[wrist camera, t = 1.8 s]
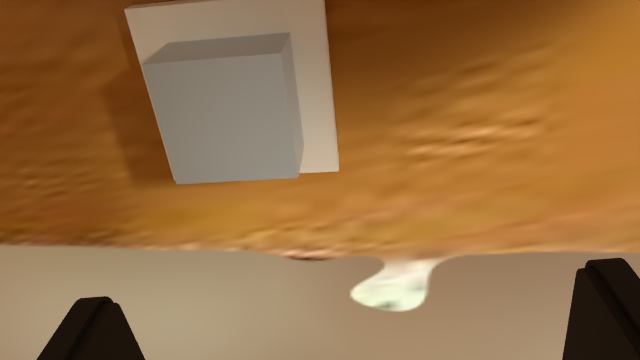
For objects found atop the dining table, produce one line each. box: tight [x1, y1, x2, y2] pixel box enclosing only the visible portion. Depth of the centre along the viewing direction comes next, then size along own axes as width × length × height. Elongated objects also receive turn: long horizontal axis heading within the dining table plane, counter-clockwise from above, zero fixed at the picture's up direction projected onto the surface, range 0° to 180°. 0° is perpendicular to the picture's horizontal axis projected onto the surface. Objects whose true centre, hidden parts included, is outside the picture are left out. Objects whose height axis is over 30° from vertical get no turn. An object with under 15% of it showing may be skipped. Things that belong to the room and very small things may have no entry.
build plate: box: [124, 0, 339, 185], centre depth 28 cm, size 11×11×5 cm
